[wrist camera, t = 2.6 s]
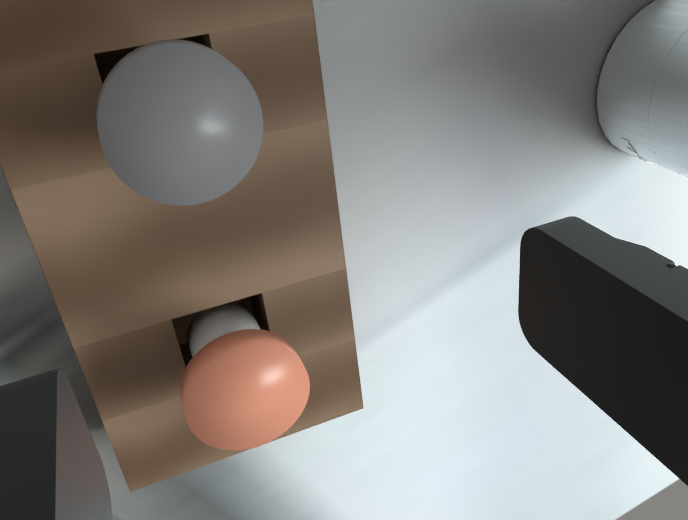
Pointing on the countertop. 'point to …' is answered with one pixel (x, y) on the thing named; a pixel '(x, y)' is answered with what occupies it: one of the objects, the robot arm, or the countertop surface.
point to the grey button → (179, 122)
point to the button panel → (176, 214)
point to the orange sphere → (240, 380)
